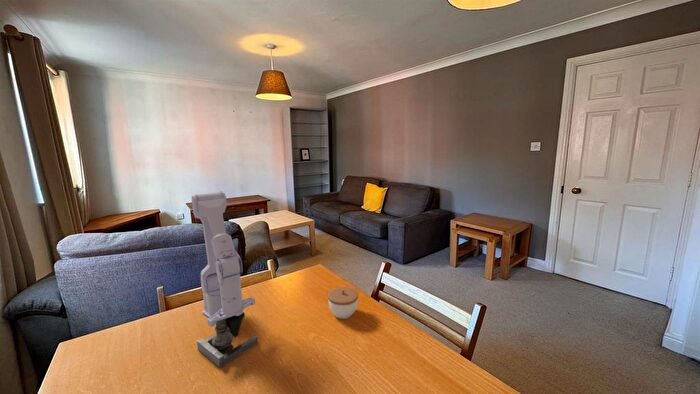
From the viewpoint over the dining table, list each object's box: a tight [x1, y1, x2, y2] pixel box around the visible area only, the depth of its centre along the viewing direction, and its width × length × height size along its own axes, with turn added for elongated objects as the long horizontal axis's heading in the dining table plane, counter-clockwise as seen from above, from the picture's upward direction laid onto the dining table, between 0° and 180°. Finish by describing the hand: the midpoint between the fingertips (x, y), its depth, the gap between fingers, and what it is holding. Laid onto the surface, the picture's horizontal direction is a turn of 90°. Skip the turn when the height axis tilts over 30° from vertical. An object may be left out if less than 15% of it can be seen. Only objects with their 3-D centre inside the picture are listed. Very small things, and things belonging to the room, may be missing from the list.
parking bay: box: [196, 327, 259, 369], centre depth 86 cm, size 12×12×3 cm
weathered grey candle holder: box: [212, 313, 234, 355], centre depth 84 cm, size 6×6×12 cm
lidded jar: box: [327, 286, 359, 320], centre depth 102 cm, size 11×11×9 cm
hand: (234, 335), depth 88 cm, fingers closed
